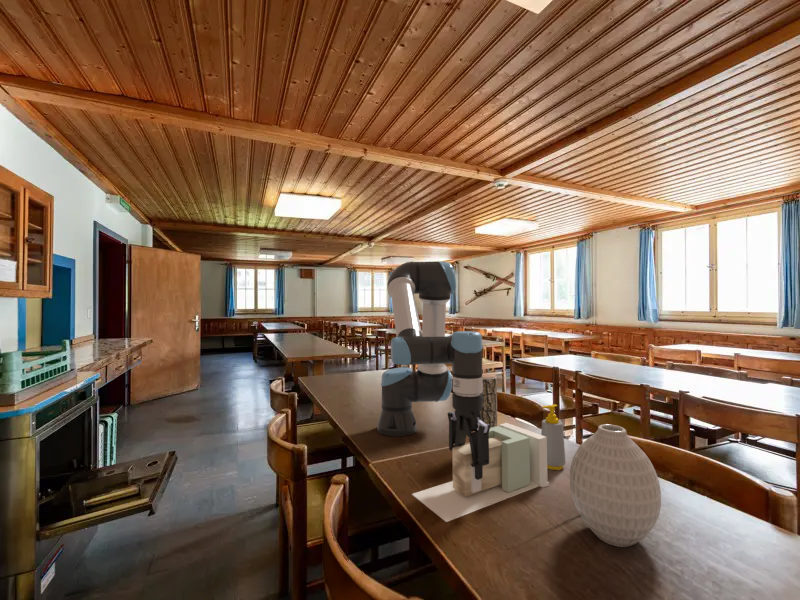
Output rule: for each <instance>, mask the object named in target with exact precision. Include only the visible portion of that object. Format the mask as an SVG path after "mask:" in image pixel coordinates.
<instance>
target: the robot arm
mask: <svg viewBox="0 0 800 600" xmlns="http://www.w3.org/2000/svg"><path fill="white" fill-rule="evenodd" d="M456 279H457V278H456V274H455V270H454V267H453V265H452V264H451V263H450V262H447V261H440V260H439V261H436V260H435V261H406V262H404V263H402V264H400V265H398V266H397V267H396V268H395V269H394V270H393V271H392V272H391V274H390V275H389V277H388V280H387V293H388V295H389V297H390V298H391V302H392V303H391V304H392V305H391V306H392V311H393V312H392V313H393V319H394V320H393V321H394V329H395V335H396V336H395V337H393V338H391V340H390V357H391V362H392V363H393V364H394V365H398V366H399V365H403V367H394V368H389V369H387V370H385V371H384V372H382V374H381V383H380V386H381V411H380V414H379V418H378V422H377V425H376V427H377V428H376V429H377V432H378V433H379V434H380V435H383V436H387V437H403V436H404V437H405V436H406V437H407V436H409V435H413V434H414V433H416V432H417V431H418V430H417V421H416V418H415V416H414V411H413V406H412V405H413V403H426V402H427V403H429V402H433V403H434V402H435V403H438V402H444V401H446V400H448V399H449V397H450V396H451V392H453V393H452V399H451V400H452V409H454V411H450V412H447V418H448V419H447V420H448V450H449V451H451V452H452V448H454V447H458V446H462V445H466V441H467V440H466V439H467V437H468V442H469V444H470V448H471V454H472V460H473V464H471V492H472V493H475V492H478V491H480V490H481V479H482V477H483V466H484V465H488V464H489V430H490V424H485V423H484V422H483V421H482V419H481V415H480V412H481V410H482V408H483V395H482V394H481V393H482V392H483V380H482V374H483V349H484V345H483V340H482V338H483V337H482V333H480V332H478V331H471V330H470V331H469V330H460V331H454V332H453V333H452V334H451V335H447V336H446V315H447V314H446V312H447V311H446V310H447V303H448V302H449V301H450V300H451V294H452V295H453V294H455V292H456V290H457V281H456ZM416 294H418V298H419V300H420V301H421V302H422V320H421V321H422V322H421V323H422V325H421V323H420V318H419V312H418V307H417V303H416V299H415V295H416ZM449 364H451V369H452V370H451V371H452V372H451V371H450V370H449V369H448V366H447V365H449ZM413 365H417V368H416V369H417V370H415V371H414V370H413V369H412V368H411V367H407V366H413ZM405 366H406V367H405Z"/></svg>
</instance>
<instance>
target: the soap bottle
mask: <svg viewBox="0 0 800 600" xmlns="http://www.w3.org/2000/svg"><path fill="white" fill-rule="evenodd" d="M555 407H558V405H557V404H555V403H553V404H550V405H549V404H547V405H542V406H541V408H542V409H547V410H549V412H550V413H548V414H547V417H545V419H543V420H541V434H540V435H543V436H545V437H547V470H553V471H561V470H563V468H564V466H565V465H566V449H565V438H564V437H565V435H564V423H563V421H561V420H559V418H558V417H557V414H555V409H556V408H555Z"/></svg>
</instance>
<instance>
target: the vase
mask: <svg viewBox="0 0 800 600" xmlns="http://www.w3.org/2000/svg"><path fill="white" fill-rule="evenodd" d="M569 471H570V472H569V487H570V492H571V497H572V501H573V502H574V505H575V507H576V509H577V512H578V513H579V515H580V517H581V519H582V520H583V521H584V523H585V525H586V526H587V527H588V528H589V529H590V530H591V531H592V532H593V534H594V535H595V536H596V537H597V538H598V539H599V540H600V541H603V542H604V543H605V544H608V545H611V546H614V547H618V548H619V547H620V548H628V547H631V546H633V545H635V544H638V543H639V542H640V541H641V542H642V540H643V539H644V538H646V537H647V536H648V534H650V532H651V531H652V530H653V528H655V526H656V524H657V521H658V519H659V516H660V513H661V508H662V491H661V484H660V483H661V482H660V480H659V477H658V474H657V472H656V470H655V467H654V465H653V463H652V462H651V460H650V458H649V457H648V456H647V454H646V453H645V452H644V451H643V449H641V448H640V447H639V445H638V444H637V443H636V442H635V441H634V440H633V439H632V438H631V437H629V435H628V434H627V429H625V428H624V427H622V426H620V425H615V424H608V423H606V424H600V425H598V426H597V430H596V432H595V433H593V434H592V435H590V436H589V437H588V438H586V439H585V440H584V441H583V442H582V443H581V444H580V445H579V446H578V448H577V450H576V451H575V453H574V455H573V457H572V460H571V464H570V470H569Z"/></svg>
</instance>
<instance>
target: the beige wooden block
mask: <svg viewBox="0 0 800 600" xmlns="http://www.w3.org/2000/svg"><path fill="white" fill-rule="evenodd" d="M502 441H505V440H502V439H500V438H497V437H493V438H489V464H488V465H484V466H483V477H482V479H481V490H480V491H483V490H486V489H489V488H492V487H494V486H497V485H500V484H502ZM451 452H452V459H451V460H452V481H453V488H454V489H455V490H457V491H458V492H460V493H461V494H463V495H464V496H469V495H471V494H474V493H472V492H471V464H473V460H472V454H471V448H470V443H467V444H466V443H465V445H462V446H458V447H454V448H452V451H451ZM480 491H478V492H480ZM475 493H477V492H475Z"/></svg>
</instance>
